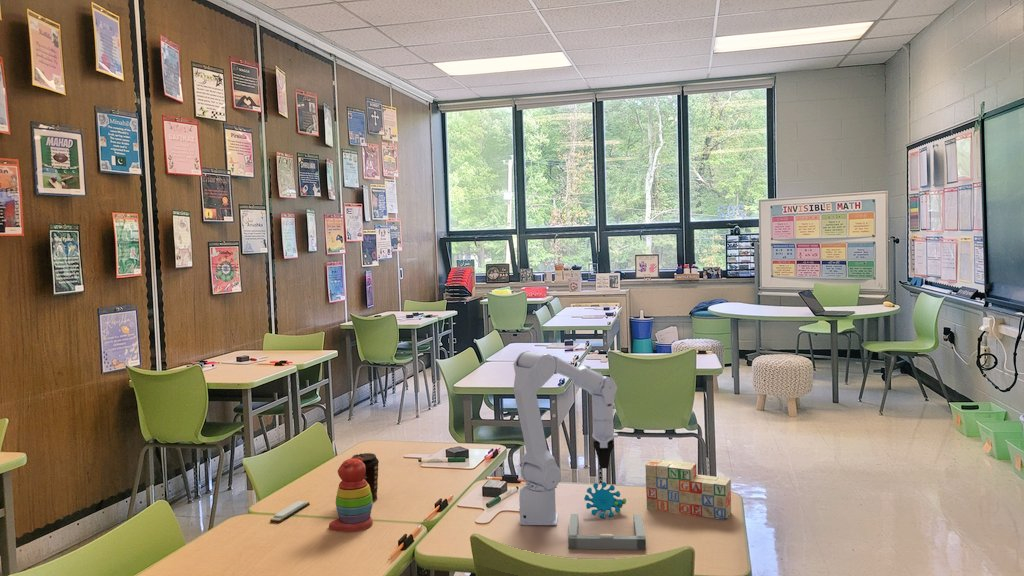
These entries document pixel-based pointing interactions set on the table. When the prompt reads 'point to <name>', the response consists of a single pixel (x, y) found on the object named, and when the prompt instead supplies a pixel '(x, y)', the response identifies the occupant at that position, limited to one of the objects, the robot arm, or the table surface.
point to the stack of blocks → (686, 490)
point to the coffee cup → (370, 472)
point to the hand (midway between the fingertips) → (604, 466)
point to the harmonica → (289, 511)
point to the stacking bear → (353, 498)
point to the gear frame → (607, 537)
